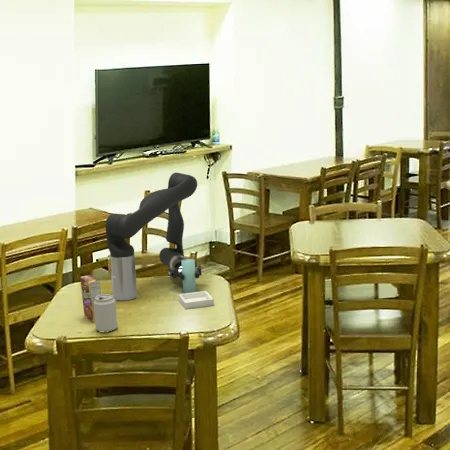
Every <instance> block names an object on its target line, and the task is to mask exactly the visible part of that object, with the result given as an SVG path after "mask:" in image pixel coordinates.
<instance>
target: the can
mask: <svg viewBox="0 0 450 450" xmlns="http://www.w3.org/2000/svg"><path fill="white" fill-rule="evenodd" d="M94 315H95V324H94V325H95V326H94V327H95V329H96V330H97V331H98V332H99V331H104V332H103V333H108V332H107V331H111V332H113V331H115V330H116V329H117V327H118V316H117V305H116V300H115V299H114V298H113V294H107V293H106V294H105V293H104V294H101V295H98V296H96V297H95V301H94ZM114 329H115V330H114ZM112 330H113V331H112Z"/></svg>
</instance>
